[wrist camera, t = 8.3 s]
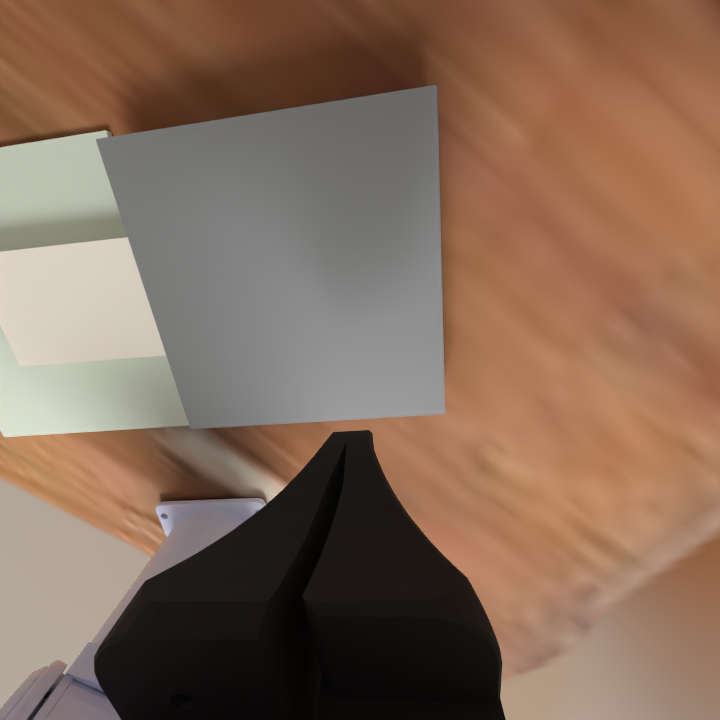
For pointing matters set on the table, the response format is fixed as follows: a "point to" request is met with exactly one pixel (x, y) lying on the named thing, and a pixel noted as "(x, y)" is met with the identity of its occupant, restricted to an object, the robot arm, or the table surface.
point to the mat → (58, 227)
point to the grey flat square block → (293, 258)
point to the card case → (76, 304)
